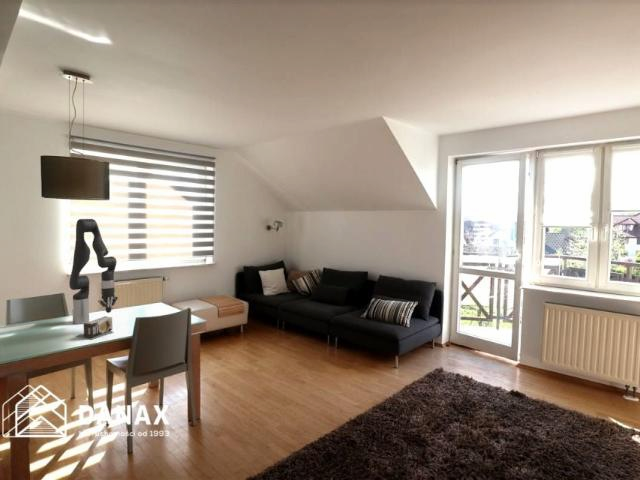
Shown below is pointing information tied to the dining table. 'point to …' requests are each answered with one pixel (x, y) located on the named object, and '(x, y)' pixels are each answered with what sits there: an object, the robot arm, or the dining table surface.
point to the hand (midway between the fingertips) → (108, 312)
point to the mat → (96, 336)
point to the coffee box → (97, 327)
